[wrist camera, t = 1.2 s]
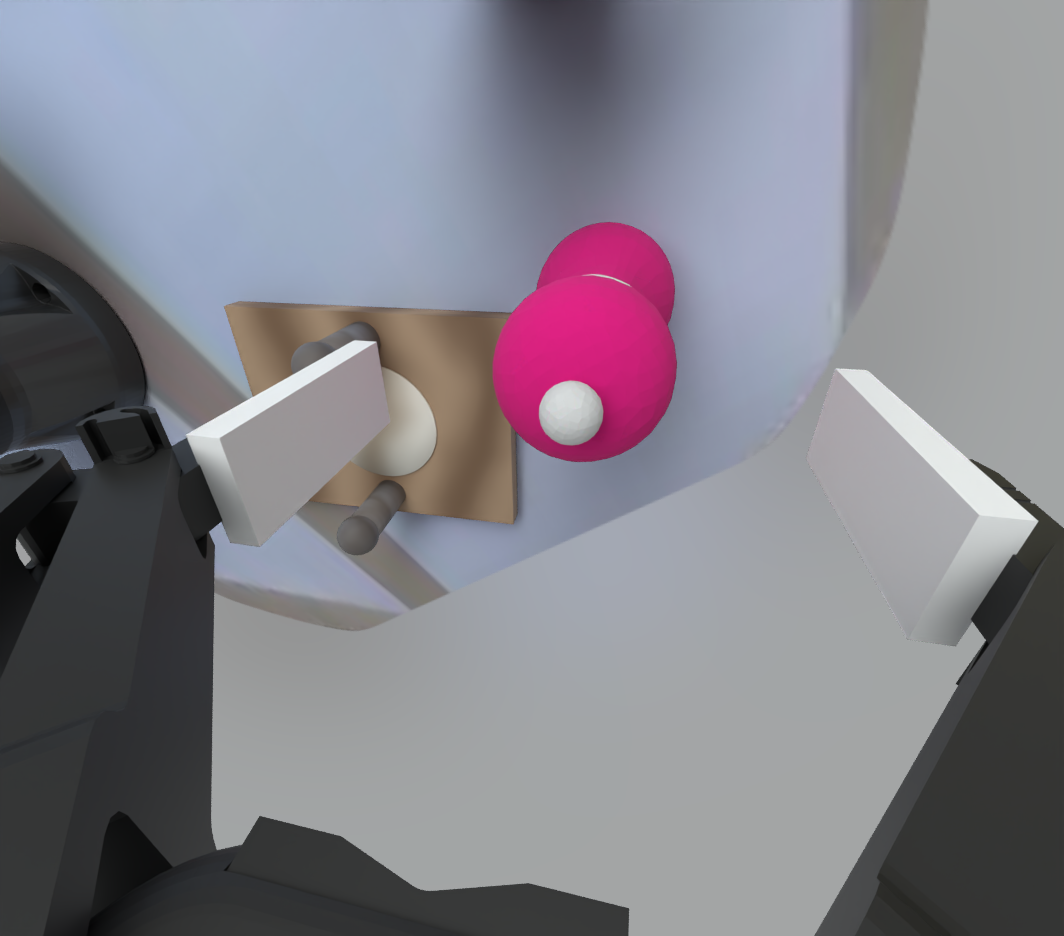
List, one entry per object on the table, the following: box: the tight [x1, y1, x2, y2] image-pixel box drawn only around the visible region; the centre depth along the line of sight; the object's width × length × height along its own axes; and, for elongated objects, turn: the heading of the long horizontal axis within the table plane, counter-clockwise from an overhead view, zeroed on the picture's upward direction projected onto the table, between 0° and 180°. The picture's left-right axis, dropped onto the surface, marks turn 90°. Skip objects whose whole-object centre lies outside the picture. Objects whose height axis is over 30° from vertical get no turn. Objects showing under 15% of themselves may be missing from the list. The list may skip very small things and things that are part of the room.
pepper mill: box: [493, 222, 677, 462], centre depth 21 cm, size 7×7×20 cm
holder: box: [224, 301, 517, 555], centre depth 34 cm, size 20×16×8 cm
